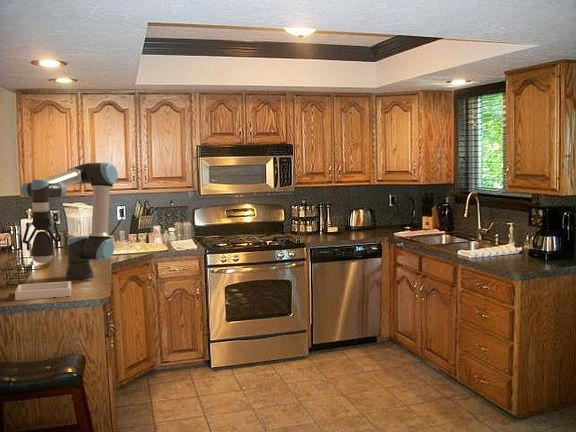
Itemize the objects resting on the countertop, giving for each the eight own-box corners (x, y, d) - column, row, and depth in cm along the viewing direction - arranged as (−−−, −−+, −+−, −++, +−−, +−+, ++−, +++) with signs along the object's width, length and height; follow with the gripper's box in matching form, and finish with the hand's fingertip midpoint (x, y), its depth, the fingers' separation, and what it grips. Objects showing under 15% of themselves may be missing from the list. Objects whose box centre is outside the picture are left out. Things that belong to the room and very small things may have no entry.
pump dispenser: (49, 259, 297) (48, 229, 296) (57, 262, 289) (56, 231, 288) (28, 262, 290) (27, 231, 289) (35, 264, 282) (34, 232, 281)
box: (71, 289, 304) (71, 281, 303) (70, 296, 286) (70, 288, 286) (19, 292, 296) (18, 284, 295) (15, 300, 278) (14, 292, 278)
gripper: (66, 209, 295) (67, 254, 297) (16, 211, 287) (18, 256, 289) (65, 210, 288) (67, 256, 290) (14, 212, 280) (16, 259, 282)
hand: (42, 256), depth 289 cm, fingers closed on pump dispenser, 10 cm apart
